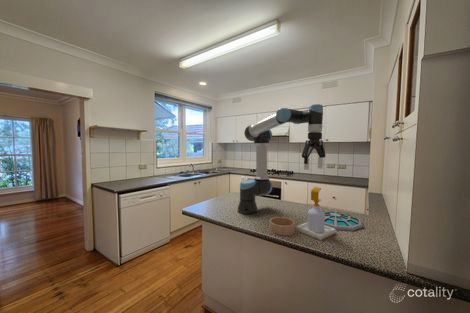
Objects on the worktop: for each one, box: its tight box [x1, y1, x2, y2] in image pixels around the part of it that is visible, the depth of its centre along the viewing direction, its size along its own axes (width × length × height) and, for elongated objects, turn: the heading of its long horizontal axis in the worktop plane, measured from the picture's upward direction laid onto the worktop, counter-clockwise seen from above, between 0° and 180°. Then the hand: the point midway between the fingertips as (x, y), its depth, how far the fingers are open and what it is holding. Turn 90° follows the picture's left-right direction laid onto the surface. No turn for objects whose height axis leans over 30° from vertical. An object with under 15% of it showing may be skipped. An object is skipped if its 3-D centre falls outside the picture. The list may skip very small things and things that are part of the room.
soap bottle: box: [307, 186, 325, 233], centre depth 109 cm, size 9×9×25 cm
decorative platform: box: [322, 210, 364, 231], centre depth 127 cm, size 31×29×5 cm
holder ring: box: [268, 216, 296, 236], centre depth 112 cm, size 14×14×5 cm
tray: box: [296, 222, 336, 242], centre depth 110 cm, size 15×15×2 cm
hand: (313, 169), depth 111 cm, fingers open, 13 cm apart
